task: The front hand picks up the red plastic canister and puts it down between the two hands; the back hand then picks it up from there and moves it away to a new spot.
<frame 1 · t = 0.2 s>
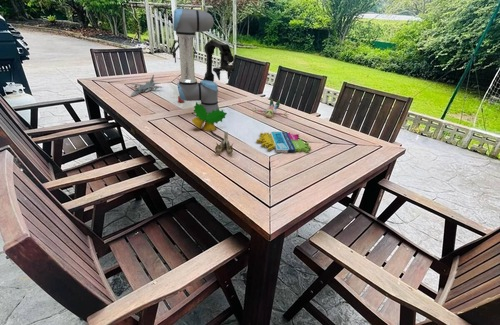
front hand: (184, 62, 211), 27 cm above the table, tool pointing down, fingers open, 13 cm apart
back hand: (223, 79, 224), 14 cm above the table, tool pointing down, fingers open, 9 cm apart
jawbone: (224, 151, 138), on the table
toy: (271, 112, 201), on the table
canister: (181, 102, 209), on the table
airplane: (145, 91, 231), on the table
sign: (281, 143, 152), on the table
ornament: (209, 128, 165), on the table
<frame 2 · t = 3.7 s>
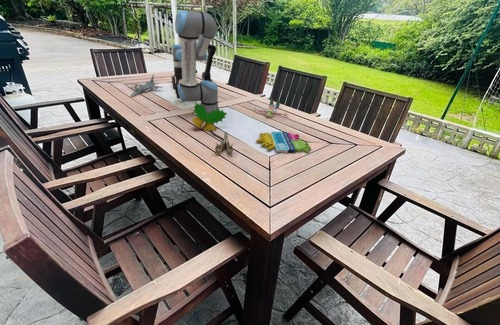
front hand: (181, 97, 208), 4 cm above the table, tool pointing down, fingers closed on canister, 4 cm apart
back hand: (186, 81, 235), 9 cm above the table, tool pointing down, fingers open, 9 cm apart
canister: (181, 98, 208), point 3 cm above the table, touching front hand
everything else where it was.
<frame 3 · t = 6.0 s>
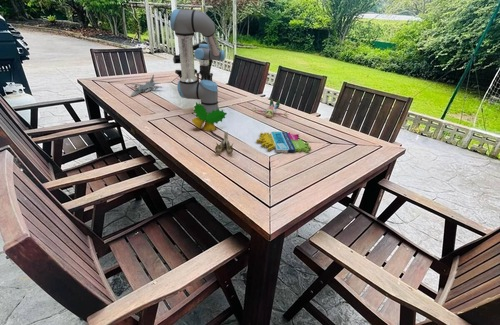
front hand: (205, 94, 220), 4 cm above the table, tool pointing down, fingers closed on canister, 4 cm apart
back hand: (186, 81, 235), 9 cm above the table, tool pointing down, fingers open, 9 cm apart
canister: (205, 94, 220), point 4 cm above the table, touching front hand
everything else where it was.
when the front hand's fingers open (0 cm above the table, at t = 8.7 s): canister stays where it is, on the table.
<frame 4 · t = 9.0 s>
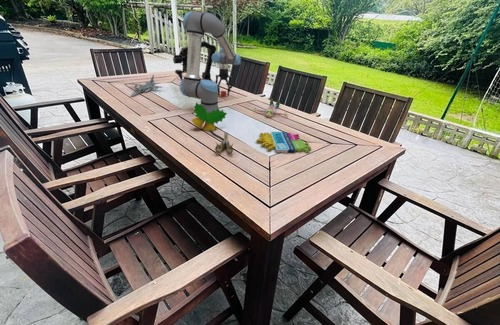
front hand: (223, 95, 231), 1 cm above the table, tool pointing down, fingers open, 8 cm apart
back hand: (186, 81, 235), 9 cm above the table, tool pointing down, fingers open, 9 cm apart
canister: (223, 96, 231), on the table
everything else where it was.
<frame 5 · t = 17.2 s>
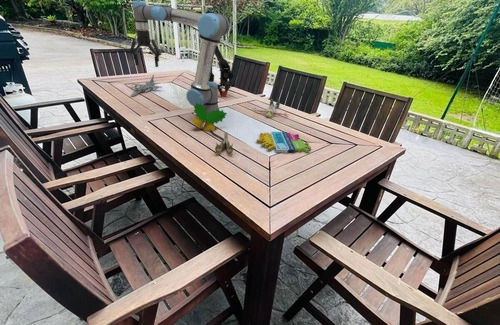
front hand: (147, 66, 173), 30 cm above the table, tool pointing down, fingers open, 13 cm apart
back hand: (223, 95, 231), 1 cm above the table, tool pointing down, fingers closed on canister, 4 cm apart
canister: (223, 96, 232), on the table, touching back hand
everything else where it was.
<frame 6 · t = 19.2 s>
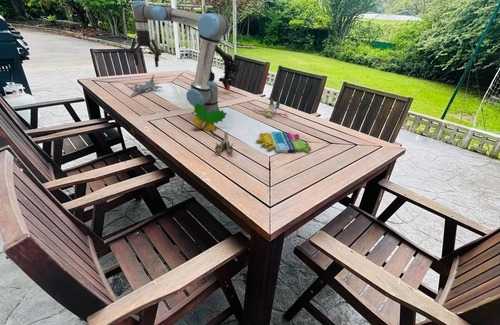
front hand: (147, 66, 173), 30 cm above the table, tool pointing down, fingers open, 13 cm apart
back hand: (227, 88, 238), 5 cm above the table, tool pointing down, fingers closed on canister, 4 cm apart
canister: (227, 89, 238), point 4 cm above the table, touching back hand
everything else where it was.
when the back hand's fingers open (2 cm above the table, at t = 21.5 s): canister stays where it is, on the table.
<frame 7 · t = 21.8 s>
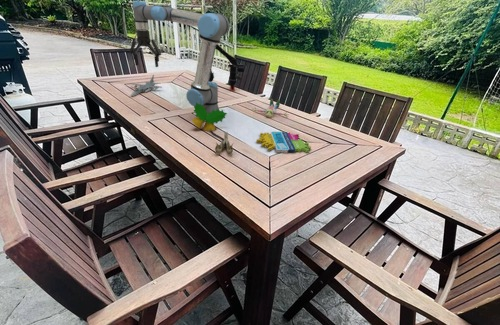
front hand: (147, 66, 173), 30 cm above the table, tool pointing down, fingers open, 13 cm apart
back hand: (232, 88, 252), 2 cm above the table, tool pointing down, fingers open, 7 cm apart
canister: (232, 90, 253), on the table
everything else where it was.
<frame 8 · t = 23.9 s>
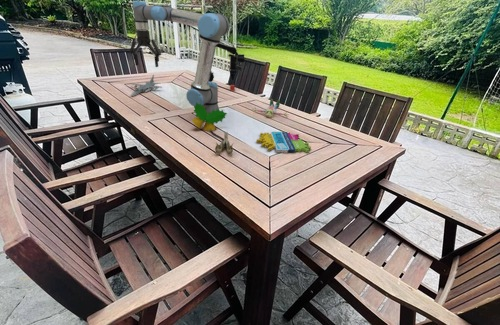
front hand: (147, 66, 173), 30 cm above the table, tool pointing down, fingers open, 13 cm apart
back hand: (232, 79, 248), 10 cm above the table, tool pointing down, fingers open, 9 cm apart
nothing on the table moved.
at the end: canister inside the target area (0.0 cm from its centre), on the table; canister tilted 0°; the two hands never held the canister at the same time; the front hand is holding nothing; the back hand is holding nothing; canister at rest at the end (0.0 cm/s) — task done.
